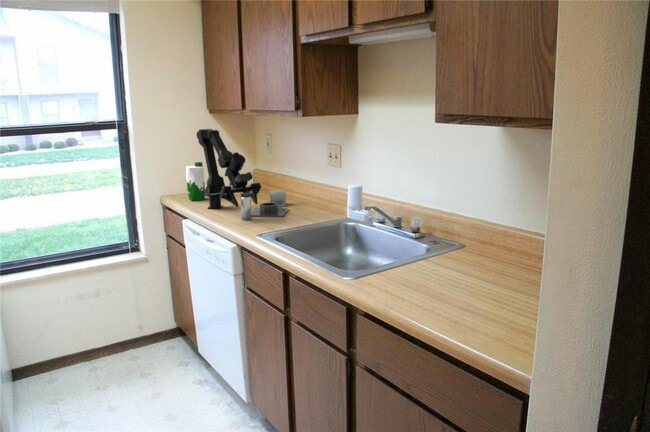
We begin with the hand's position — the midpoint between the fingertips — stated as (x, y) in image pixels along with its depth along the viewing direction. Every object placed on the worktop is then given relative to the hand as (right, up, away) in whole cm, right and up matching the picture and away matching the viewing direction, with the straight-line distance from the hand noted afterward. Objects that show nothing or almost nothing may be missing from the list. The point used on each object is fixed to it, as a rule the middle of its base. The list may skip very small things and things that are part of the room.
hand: (247, 205), depth 229 cm
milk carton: (-35, +4, +50) cm, 61 cm away
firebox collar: (+8, -3, +15) cm, 17 cm away
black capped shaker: (-1, -6, +2) cm, 7 cm away
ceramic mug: (+11, +1, +33) cm, 35 cm away
